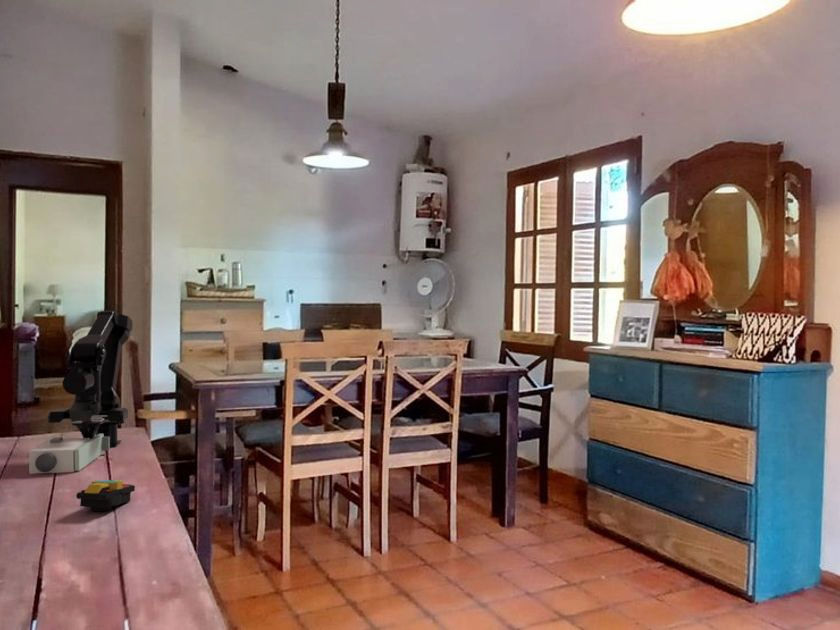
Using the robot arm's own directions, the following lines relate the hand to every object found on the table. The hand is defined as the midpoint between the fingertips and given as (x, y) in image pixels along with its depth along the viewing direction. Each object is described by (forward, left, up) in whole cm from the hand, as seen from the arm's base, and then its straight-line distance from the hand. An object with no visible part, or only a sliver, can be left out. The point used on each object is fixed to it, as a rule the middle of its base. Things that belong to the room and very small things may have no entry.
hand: (89, 447), depth 189 cm
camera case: (+9, -4, -3) cm, 10 cm away
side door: (+7, +3, -2) cm, 8 cm away
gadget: (+46, +17, -3) cm, 49 cm away
